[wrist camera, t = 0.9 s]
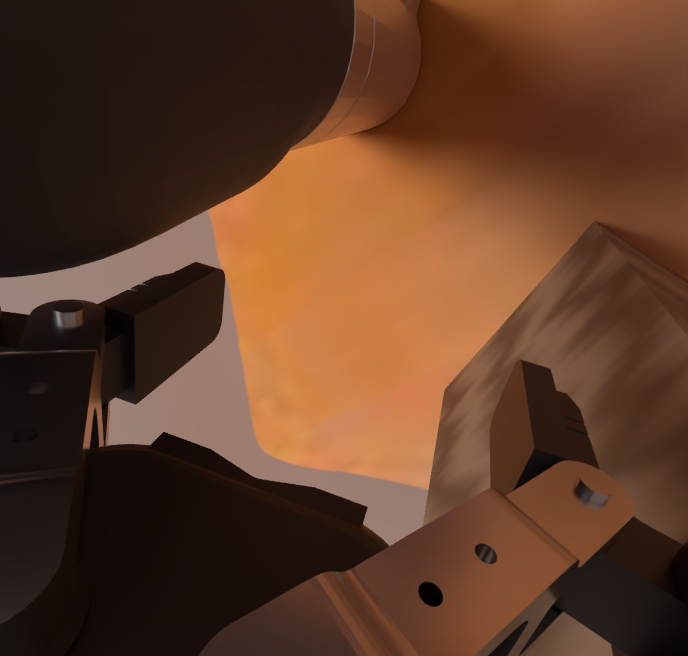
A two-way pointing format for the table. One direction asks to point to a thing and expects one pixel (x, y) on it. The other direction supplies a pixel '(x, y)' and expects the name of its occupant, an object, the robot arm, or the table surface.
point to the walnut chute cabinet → (587, 391)
